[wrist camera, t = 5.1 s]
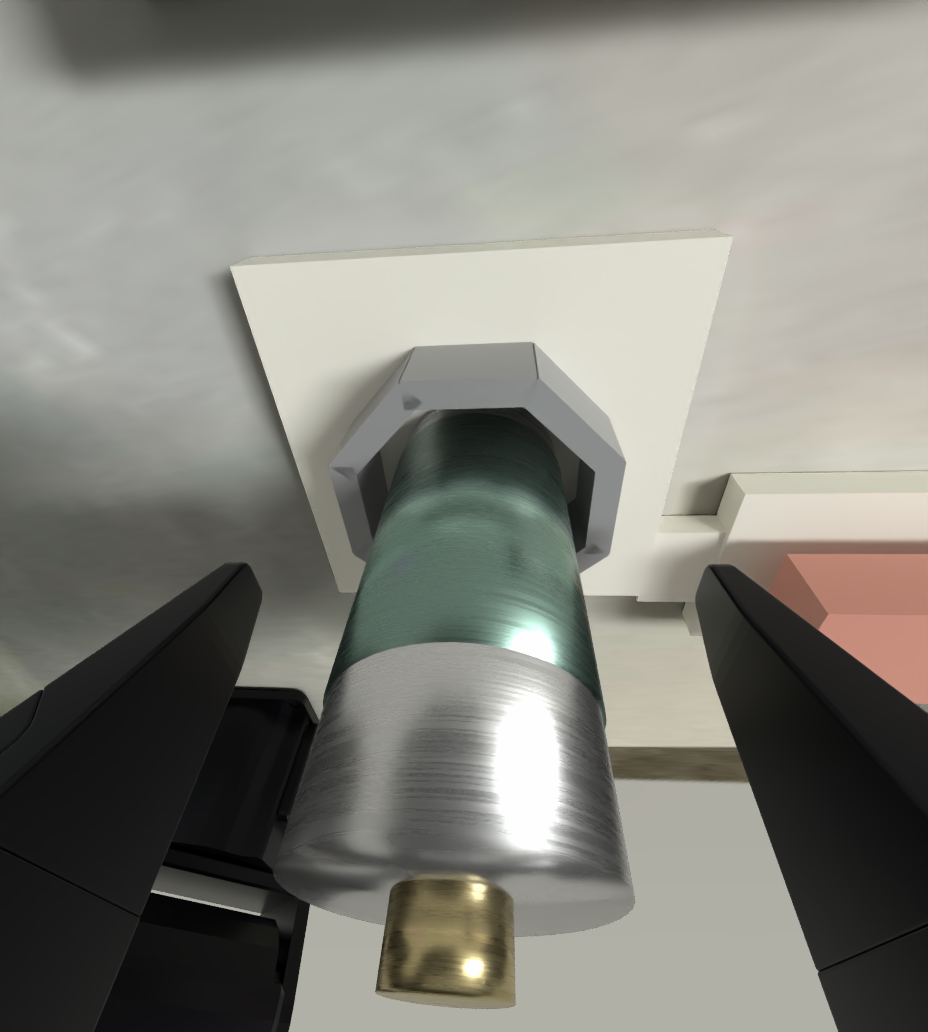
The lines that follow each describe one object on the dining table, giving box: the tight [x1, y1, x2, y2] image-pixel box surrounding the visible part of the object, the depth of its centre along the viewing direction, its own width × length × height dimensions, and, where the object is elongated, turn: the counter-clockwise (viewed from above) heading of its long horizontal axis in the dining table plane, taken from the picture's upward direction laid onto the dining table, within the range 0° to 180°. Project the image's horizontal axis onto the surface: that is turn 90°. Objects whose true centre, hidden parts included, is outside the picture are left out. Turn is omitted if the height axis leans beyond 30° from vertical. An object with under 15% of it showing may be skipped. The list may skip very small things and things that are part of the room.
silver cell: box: [273, 407, 635, 1009], centre depth 8 cm, size 4×4×10 cm
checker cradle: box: [230, 229, 928, 636], centre depth 12 cm, size 26×12×3 cm, turn 94°
